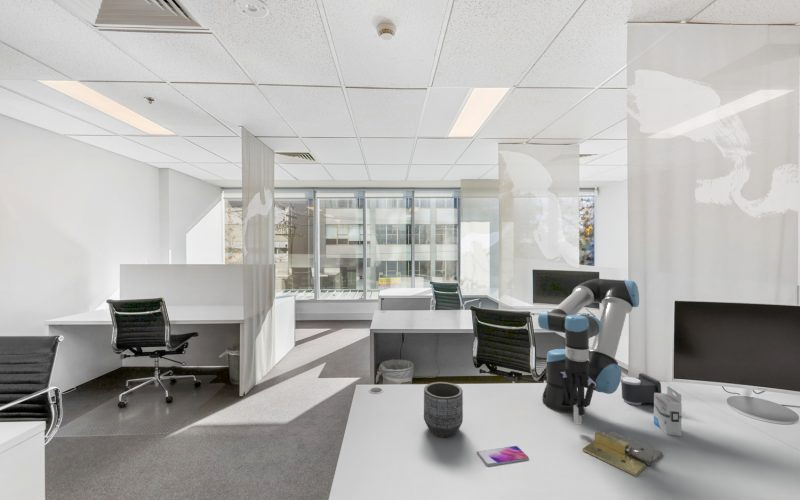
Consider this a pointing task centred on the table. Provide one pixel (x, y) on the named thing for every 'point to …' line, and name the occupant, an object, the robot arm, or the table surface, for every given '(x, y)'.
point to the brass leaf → (613, 453)
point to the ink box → (668, 412)
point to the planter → (443, 408)
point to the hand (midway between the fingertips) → (577, 422)
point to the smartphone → (502, 456)
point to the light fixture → (639, 389)
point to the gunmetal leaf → (639, 450)
